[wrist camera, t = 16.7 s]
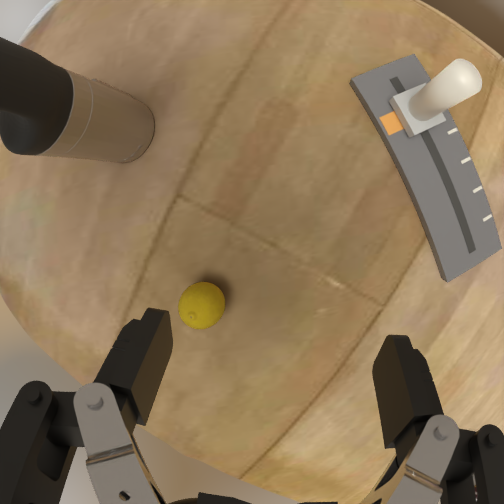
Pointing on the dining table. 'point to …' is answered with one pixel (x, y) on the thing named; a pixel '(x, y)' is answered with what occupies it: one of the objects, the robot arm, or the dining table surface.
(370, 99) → the track board
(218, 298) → the lemon
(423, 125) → the fader
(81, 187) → the dining table surface
